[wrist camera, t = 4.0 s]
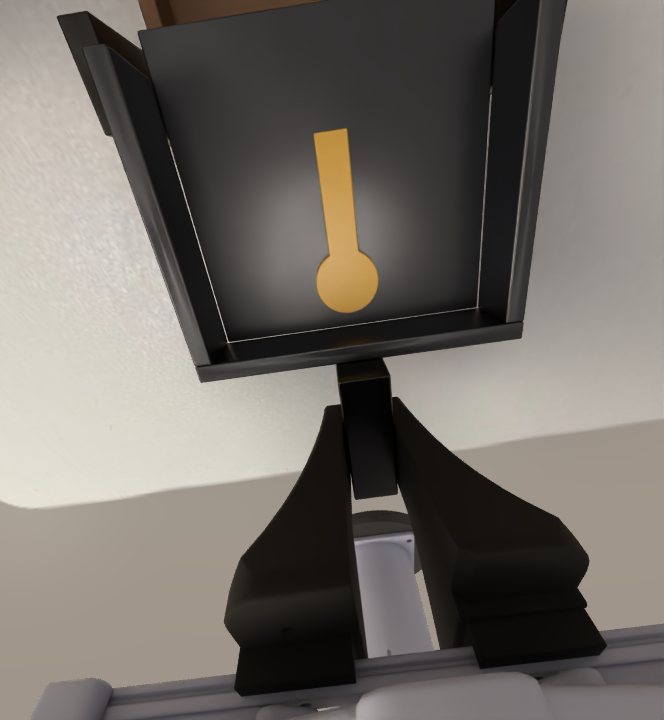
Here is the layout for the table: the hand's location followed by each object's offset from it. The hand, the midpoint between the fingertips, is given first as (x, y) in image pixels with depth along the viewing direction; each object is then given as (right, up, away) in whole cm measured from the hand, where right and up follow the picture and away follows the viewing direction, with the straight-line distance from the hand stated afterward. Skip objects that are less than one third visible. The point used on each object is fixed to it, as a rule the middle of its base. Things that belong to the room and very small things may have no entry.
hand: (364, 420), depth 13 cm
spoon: (-1, +7, -2) cm, 7 cm away
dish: (-1, +6, -1) cm, 6 cm away
